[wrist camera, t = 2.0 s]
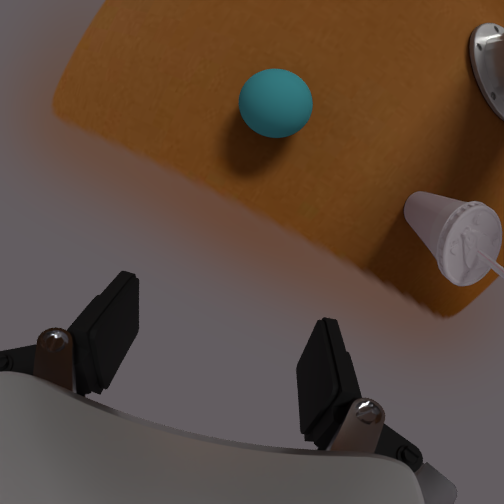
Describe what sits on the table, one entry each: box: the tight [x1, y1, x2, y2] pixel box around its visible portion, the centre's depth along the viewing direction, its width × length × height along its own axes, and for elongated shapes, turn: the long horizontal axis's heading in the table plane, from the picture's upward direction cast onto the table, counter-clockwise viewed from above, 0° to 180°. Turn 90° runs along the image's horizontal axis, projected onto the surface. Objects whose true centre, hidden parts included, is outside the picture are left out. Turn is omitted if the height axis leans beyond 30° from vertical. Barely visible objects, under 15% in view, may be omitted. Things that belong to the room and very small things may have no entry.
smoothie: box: [404, 191, 504, 286], centre depth 18 cm, size 6×6×14 cm
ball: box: [239, 69, 313, 138], centre depth 19 cm, size 6×6×6 cm
